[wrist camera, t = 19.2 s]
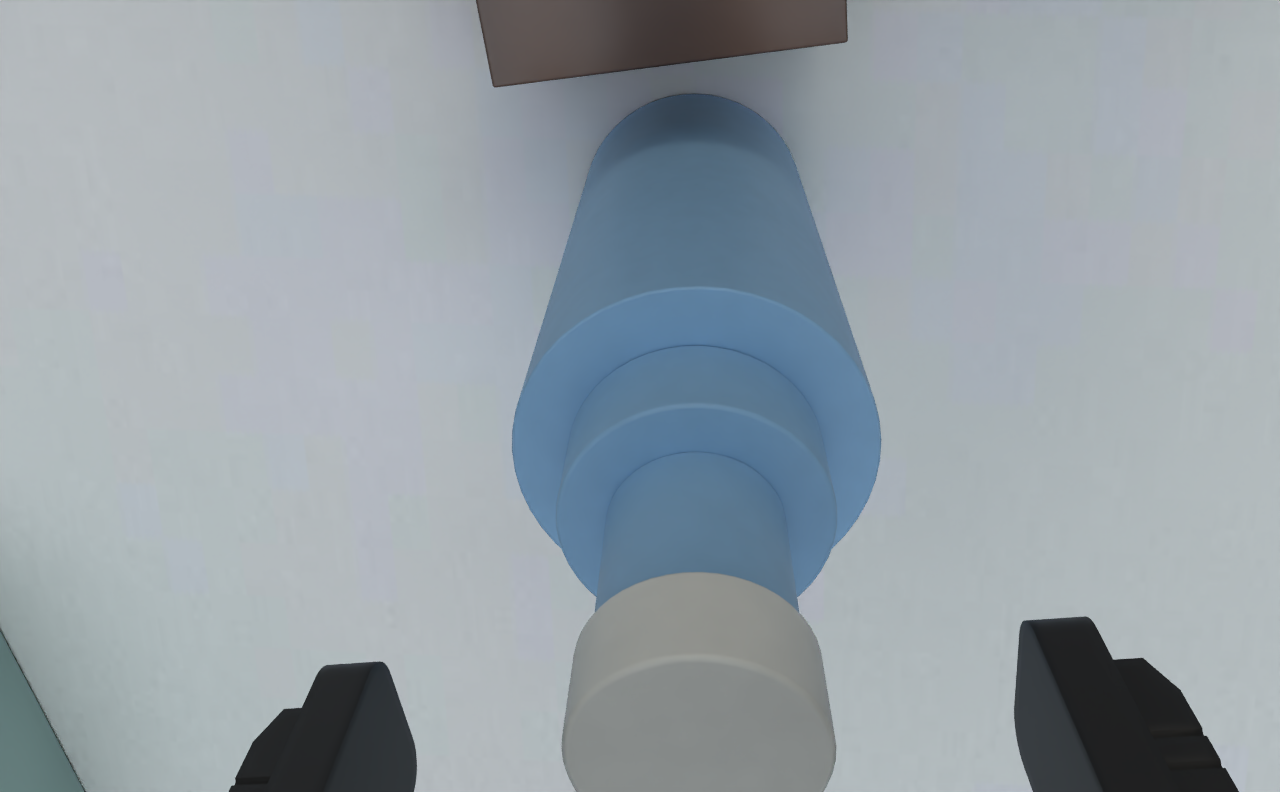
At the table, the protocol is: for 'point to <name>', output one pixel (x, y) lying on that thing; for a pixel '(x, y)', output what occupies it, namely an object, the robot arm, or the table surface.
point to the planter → (28, 738)
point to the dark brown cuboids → (644, 33)
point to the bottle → (696, 455)
